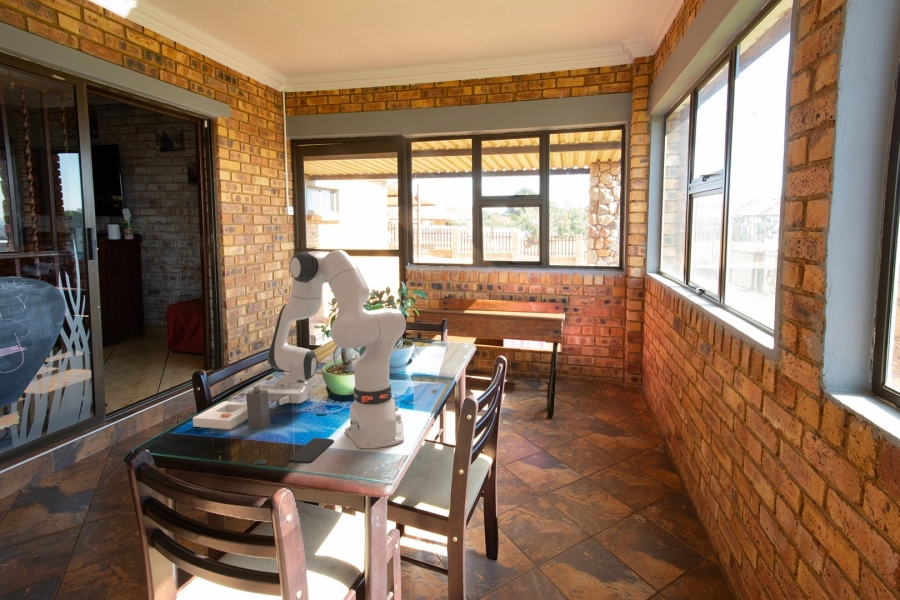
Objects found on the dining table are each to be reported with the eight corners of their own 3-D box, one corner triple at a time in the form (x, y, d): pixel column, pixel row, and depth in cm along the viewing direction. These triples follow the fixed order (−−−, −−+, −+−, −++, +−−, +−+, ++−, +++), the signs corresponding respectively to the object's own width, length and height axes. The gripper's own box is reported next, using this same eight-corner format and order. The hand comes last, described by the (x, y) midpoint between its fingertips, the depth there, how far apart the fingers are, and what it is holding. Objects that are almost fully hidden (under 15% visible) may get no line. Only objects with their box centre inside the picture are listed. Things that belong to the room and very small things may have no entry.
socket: (224, 410, 182) (223, 399, 182) (258, 412, 179) (258, 401, 179) (193, 427, 167) (192, 415, 166) (230, 430, 164) (229, 418, 163)
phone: (287, 459, 142) (313, 437, 156) (287, 462, 142) (313, 440, 156) (311, 462, 140) (335, 439, 154) (311, 465, 140) (335, 442, 154)
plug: (256, 423, 169) (253, 384, 167) (270, 424, 168) (267, 385, 166) (249, 428, 165) (245, 388, 163) (262, 429, 164) (259, 389, 162)
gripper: (261, 379, 185) (238, 391, 172) (311, 381, 181) (292, 394, 167) (262, 395, 186) (239, 409, 173) (313, 398, 182) (293, 412, 168)
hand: (265, 402), depth 170 cm, fingers open, 8 cm apart
